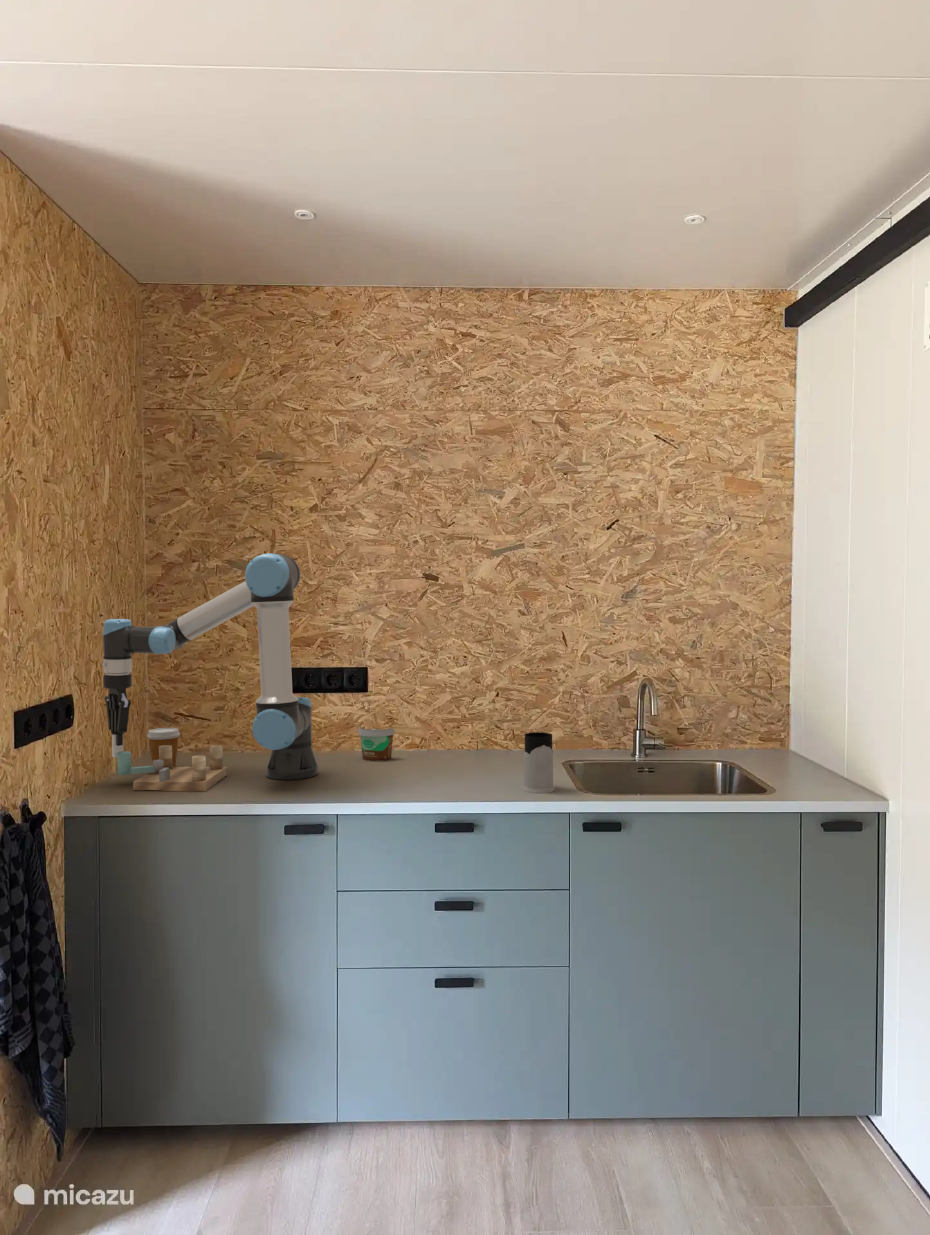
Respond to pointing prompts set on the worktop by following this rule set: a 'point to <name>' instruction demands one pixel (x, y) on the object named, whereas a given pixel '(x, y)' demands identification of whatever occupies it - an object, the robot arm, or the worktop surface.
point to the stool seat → (186, 772)
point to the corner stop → (164, 774)
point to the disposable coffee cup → (163, 741)
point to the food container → (376, 743)
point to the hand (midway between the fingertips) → (117, 756)
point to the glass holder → (538, 763)
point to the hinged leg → (126, 768)
